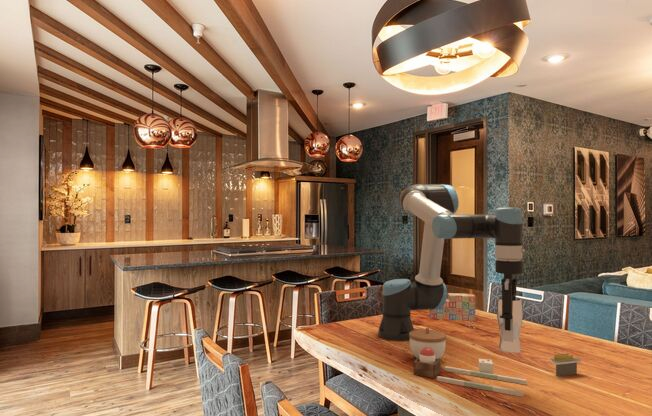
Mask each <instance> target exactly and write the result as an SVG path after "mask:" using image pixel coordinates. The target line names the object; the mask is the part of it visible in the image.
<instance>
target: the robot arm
mask: <svg viewBox="0 0 652 416" xmlns="http://www.w3.org/2000/svg"><path fill="white" fill-rule="evenodd" d="M459 204H460V203H459V196H458V193H457V190H456V189H455V188H454V186H452V185H450V184H443V183H435V184H434V183H430V184H429V183H424V184H423V183H416V184H412V185H409V186H407V187H405V188H404V189H403V191H402V192H401V194H400V195H399V205H400V207H401V209H402V210H403V211H404V212H405V213H407V214H408V215H411V216H415V217H417V218H419V219H420V220H421V221H423V222H424V225H423V235H422V244H421V253H420V262H419V263H420V265H419V271H418V274H417V275H415V277H414V281H413V282H412V281H411V280H410V279H408V278H395V279H391V280H387V281H385V282H384V283H383V285H382V292H381V295H382V319H381V320H380V325H379V327H378V331H377V332H378V337H380V338H382V339H383V340H390V341H398V342H399V341H410V337H409V333H410V332H411V331H413V330H415V328H414V324H413V321H412V317H411V311H426V310H427V311H428V310H429V311H430V310H434V309H440V308H441V307H443V306H444V304H445V302H446V299H448V289H447V286H446V284H445V282H444V280H443V278H442V277H441V270H442V268H441V267H442V263H443V261H442V260H443V254H444V253H443V252H444V244H445V240H450V239H494V242H495V243H494V258H495V259H496V260H495V261H494V262H495V263H494V267H495V268H494V269H495V270H494V271H495V273H497V274H503V278H502V279H501V280H500V284H501V297H502V316H500V318H503V341H508V342H513V319H512V318H513V316H512V312H513V301H515V298H517V285H518V279H517V278H516V277H515V275H521V274H523V272H524V262H523V260H522V259H523V256H524V255H523V253H525V252H526V249H525V248H523V243H524V242H523V241H524V240H523V238H524V237H523V236H524V234H523V233H524V232H523V230H524V229H523V226H524V225H523V223H524V219H523V212H522V209H521V208H520V207H497V208H495V210H494V214H488V213H487V214H456V212H458V209H459ZM508 313H509V314H508Z"/></svg>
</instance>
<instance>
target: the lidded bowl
mask: <svg viewBox="0 0 652 416" xmlns="http://www.w3.org/2000/svg"><path fill="white" fill-rule="evenodd" d="M409 337H410V340H409V348H410V350H411V353H412V354H413V356H414V357H415V359H417V358H418V357H419V353H420V351H421V350H422V349H423V348H425V347H429V348H431V349H432V350H433V351H434V353H435V358H439V359H441V358H442V357H443V356H444V353H445V351H446V346H447V345H446V343H447V340H446V339H447V335H446V333H444V332H442V331H440V330H436V329H430V328H429V327H425V329H424V328H422V329H414V330H413V331H411V332H410V333H409Z"/></svg>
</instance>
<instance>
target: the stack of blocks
mask: <svg viewBox="0 0 652 416" xmlns="http://www.w3.org/2000/svg"><path fill="white" fill-rule="evenodd" d="M476 305H477V304H476V295H475V294H474V293H473V294H472V293H452V292H451V293H450V292H447V299H446V302H445V304H444V306H443V307H441V308H440V309H434V310H429V319H430V320H437V319H439V320H441V321H457V320H459V321H460V322H476V308H477V307H476ZM439 320H438V321H439Z"/></svg>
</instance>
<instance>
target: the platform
mask: <svg viewBox="0 0 652 416" xmlns="http://www.w3.org/2000/svg"><path fill="white" fill-rule="evenodd" d="M573 356H574V355H573V354H569V353H561V354H553V358H550V362H551V364H554V365H555V376H556V377H563V376H572V375H577V374H578V363H582V359H580V358H575V357H573Z"/></svg>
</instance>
